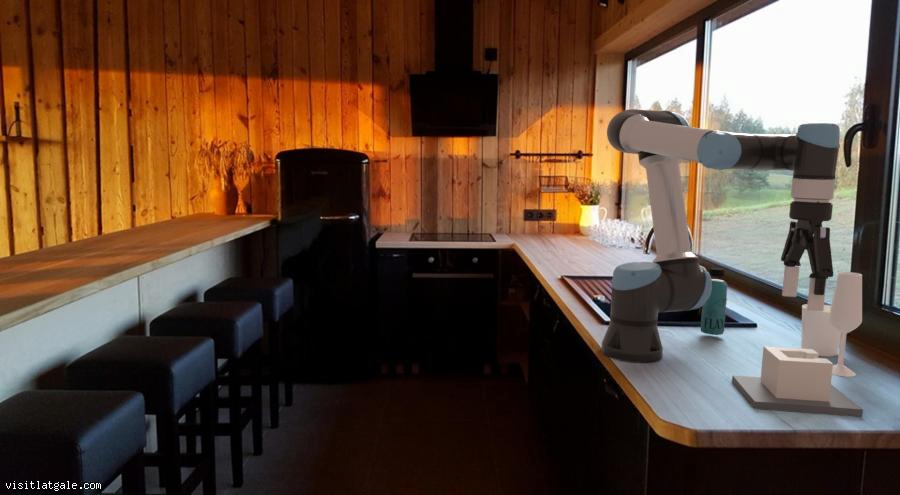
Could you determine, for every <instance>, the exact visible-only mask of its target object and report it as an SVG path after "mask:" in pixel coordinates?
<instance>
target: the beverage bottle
mask: <svg viewBox="0 0 900 495" xmlns="http://www.w3.org/2000/svg"><path fill="white" fill-rule="evenodd" d="M708 272H709V274H710V276H711V277H718V278H719V277H720V278H721V277H722V278H723V277H725V269H724V268H721V267H710V268H709V271H708ZM718 278H711V280H712V290H711V294H710V296H709V298H708V299H707V300H706V303H705V304H704V305H703V306H702V309H701V318H700V332H701V333H703V334H706V335H713V336H720V335H723V334H724V332H725V325H726V310H727V309H726V308H727V304H728V303H727V302H728V298H727V297H728V284H727V282H726V281H725V280H723V279H718Z"/></svg>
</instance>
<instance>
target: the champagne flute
mask: <svg viewBox="0 0 900 495" xmlns="http://www.w3.org/2000/svg"><path fill="white" fill-rule="evenodd" d="M833 290H834V291H833V296H832V301H831V305H830V306H831V309H830V314H829V320H830V322H831V323H832V325H833V326H834V327H835V328H836V329H837V330H838V331H840V332H841V336H840V342H839V347H838V357H837V363H836V364H833V369H832V376H839V377H847V378H850V377H856V376H857V374H856V373H855V372H854V371H853V370H851V369H850V368H849V367H847V366H845V365H844V360H845V352H846V342H847V335H848V333H851V332H852V331H854V330H856V329H857V328H858V327H860V325H861V324H862V322H863V274H861V273H859V272H853V271H852V272H851V271H850V272H849V271H839V272H838V273H837V278H836V281H835V286H834V289H833Z"/></svg>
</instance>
